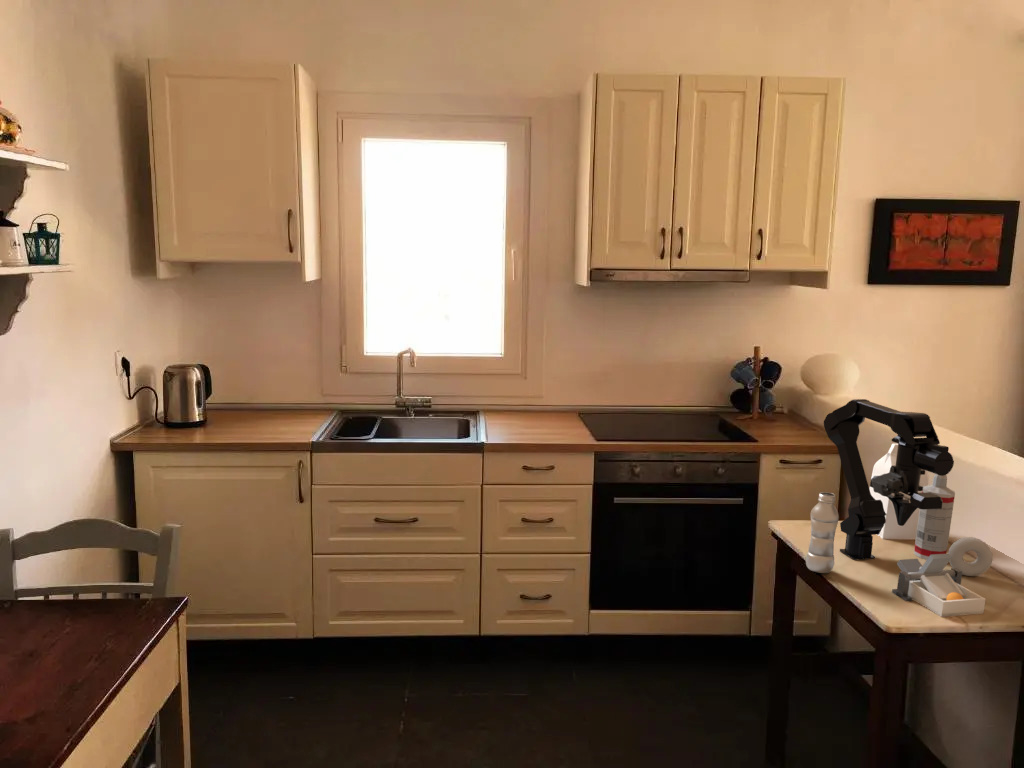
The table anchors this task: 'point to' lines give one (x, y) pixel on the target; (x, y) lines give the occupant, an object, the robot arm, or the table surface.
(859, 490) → the robot arm
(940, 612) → the white storage bin
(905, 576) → the stand
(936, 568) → the lever
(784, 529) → the table surface
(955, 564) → the donut
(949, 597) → the ball
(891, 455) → the milk
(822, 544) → the plastic bottle
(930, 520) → the spray bottle
